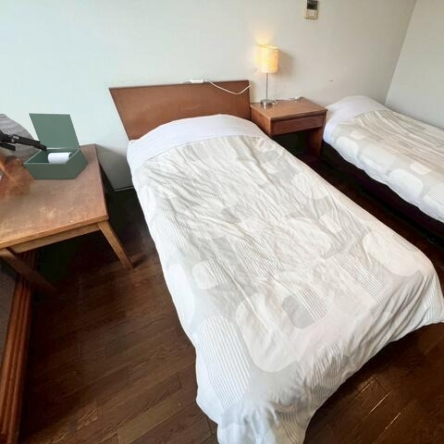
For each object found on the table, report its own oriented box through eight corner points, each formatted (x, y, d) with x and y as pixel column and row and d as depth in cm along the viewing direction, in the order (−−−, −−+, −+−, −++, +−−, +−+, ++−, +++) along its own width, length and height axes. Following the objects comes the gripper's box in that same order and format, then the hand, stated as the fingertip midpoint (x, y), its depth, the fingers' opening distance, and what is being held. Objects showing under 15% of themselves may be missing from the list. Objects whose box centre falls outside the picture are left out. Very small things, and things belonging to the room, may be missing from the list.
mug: (59, 159, 148) (49, 150, 141) (78, 158, 150) (70, 149, 143) (54, 175, 142) (44, 166, 136) (74, 174, 145) (65, 165, 138)
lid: (68, 114, 138) (74, 114, 142) (28, 113, 135) (35, 113, 139) (79, 148, 145) (84, 147, 149) (41, 147, 142) (47, 146, 146)
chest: (74, 179, 140) (64, 163, 133) (34, 179, 137) (22, 164, 130) (88, 163, 152) (80, 148, 146) (52, 163, 149) (42, 148, 143)
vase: (47, 155, 155) (16, 109, 136) (48, 164, 148) (15, 117, 129) (20, 160, 149) (-16, 112, 130) (20, 170, 142) (-19, 120, 123)
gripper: (-52, 140, 101) (1, 156, 122) (19, 141, 105) (58, 156, 126) (-52, 122, 101) (1, 141, 122) (19, 124, 106) (58, 141, 126)
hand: (30, 148), depth 124 cm, fingers open, 13 cm apart
